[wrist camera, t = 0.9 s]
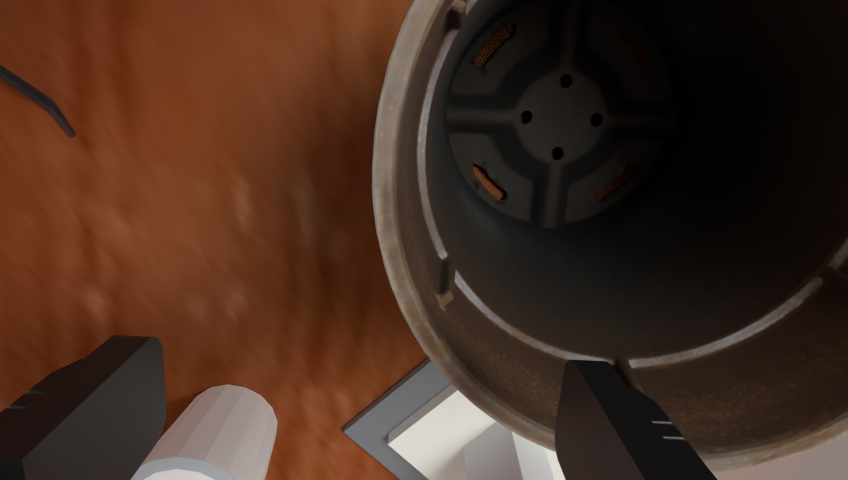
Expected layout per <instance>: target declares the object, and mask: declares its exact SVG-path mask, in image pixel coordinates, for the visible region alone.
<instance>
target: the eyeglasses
mask: <svg viewBox="0 0 848 480" xmlns="http://www.w3.org/2000/svg"><path fill="white" fill-rule="evenodd" d="M0 78H1V79H3V80H4V81H6V82H7V83H9V84H10V85H12V86H13V87H15V88H16V89H18V90H19V91H21V92H22V93H24V94H25V95H27V96H28V97H30V98H31V99H32V100H34V101H35V102H37V103H38V104H40V105H41V106H42V107H44V108H45V109H46V110H47V111H48V112H49V113H50V114H51V115H52V116H53V117H54V119H55V120H56V121H57V123H58V124H59V125H60V126H61V128H62V129H63V130H64V131H65V133H66V134H67V135H68V136H69V137H74V136H75V135H76V134H75V132H74V131H73V129H72V128H71V126H70V125H69V123H68V122H67V120H66V119H65V117H64V116H63V114H62V113H61V111H60V110H59V108H58V107H57V105H56V104H55V103H54V102H53V101H52V100H51V99H50V98H48V97H47V96H46V95H44V94H43V93H42V92H40V91H39V90H37V89H36V88H34V87H33V86H31V85H30V84H29V83H27V82H26V81H24V80H22V79H21V78H19V77H18V76H16V75H15V74H13V73H12V72H10V71H9V70H7V69H6V68H4V67H3V66H1V65H0Z"/></svg>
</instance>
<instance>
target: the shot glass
mask: <svg viewBox="0 0 848 480" xmlns="http://www.w3.org/2000/svg"><path fill="white" fill-rule="evenodd" d="M277 423H278V422H277V419H276V416H275V414H274V411H273V408H272V407H271V406H270V405H269V404H268V402H267V401H266V400H265V399H264V398H263V397H262V396H261V395H259V394H257V393H255V392H253V391H251V390H250V389H248V388H246V387H241V386H234V385H228V384H227V385H221V386H216V387H210V388H209V389H207V390H206V391H204V392H202V393H201V394H199V395H198V396H197V397H196V398H195V399H194V400H193V401H192V402H191V403H190V405H189V406H188V407H187V408H186V409H185V410H184V412H183V413H182V414H181V415H180V416H179V417H178V419H177V420H176V421H175V422H174V423H173V424H172V425H171V427H170V428H169V429H168V430H167V431H166V432H165V434H164V435H163V436H162V437H161V438H160V439H159V441H158V442H157V444H156V445H155V446H154V448H153V449H152V451H151V452H150V453H149V455H148V456H147V458H146V459H145V460H144V462H143V463H142V464H141V466H140V467H139V469H138V470H137V471H136V473H135V474H134V476H133V477H132V478H131V480H265V477H266V473H267V469H268V465H269V461H270V457H271V453H272V449H273V445H274V441H275V438H276V431H277Z"/></svg>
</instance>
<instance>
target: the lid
mask: <svg viewBox="0 0 848 480" xmlns="http://www.w3.org/2000/svg"><path fill="white" fill-rule="evenodd" d="M388 445H389V446H390V447H391V448H392V449H394V450H395V451H396V452H397V453H398V454H399V455H401V456H402V457H403V458H404V459H405V460H407V461H408V462H409V463H410V464H411V465H412V466H414V467H415V468H416V469H417V470H418V471H420V472H421V473H422V474H423V475H424V476H425V477H427V478H428V479H429V480H565V477H564V475H563V472H562V470H561V467H560V464H559V462H558V459H557V455H556V452H554V451H551V450H549V449H547V448H545V447H542V446H540V445H538V444H535V443H533V442H531V441H529V440H527V439H525V438H523V437H521V436H519V435H517V434H516V433H514V432H512V431H511V430H509V429H507V428H506V427H504V426H503V425H501V424H500V423H498V422H497V421H495V420H494V419H492V418H491V417H490V416H488V415H487V414H486V413H484V412H483V411H481V410H480V409H479V408H477V407H476V406H475V405H474V404H472V403H471V402H470V401H469V400H468V399H467V398H466V397H465V396H464V395H463V394H462V393H460V392H459V391H458V390H457V389H456V388H455V387H454V386H453V385H452V384H451V385H450V386H448V387H447V388H446V389H445V390H443V391H442V392H441V393H440V394H438V395H437V396H436V397H434V398H433V399H432V400H431V401H429V402H428V403H427V404H426V405H424V406H423V407H422V408H420V409H419V410H418V411H417V412H415V413H414V414H413V415H412V416H410V417H409V418H408V419H406V420H405V421H404V422H403V423H401V424H400V425H399V426H398V427H396V428H395V429H394V430H392V431H391V432H390V433H389V437H388Z"/></svg>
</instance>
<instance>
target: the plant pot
mask: <svg viewBox="0 0 848 480" xmlns="http://www.w3.org/2000/svg"><path fill="white" fill-rule="evenodd" d="M513 24H516V32H515V34H514V36H513V37H512V38H510V39H509V40H507V41H506V42H504V43H503V45H502V46H500V47H499V48H498V50H497V51H496V52H495V53H494V54H493V55H492V56H491V58H490V60H489V61H488V62H487V64H486V65H485V66H484V67H478V66H476V64H475V59H476V57H477V55H478V54H479V53H480V51H481V50H482V49H483V48H484V47H485V46H486V45H487V43H488V42H489V41H490V40H492V39H493V38H494V37H495V36H496V35H497V34H498V33H499V32H501V31H502V30H504V29H505V28H507V27H509V26H511V25H513ZM619 28H620V29H627V30H628V31H630V32H631V33H632V34H633V35H634V36H635V38H636V39H637V40H638V41H639V42H640V44H641V45H642V46H643V47H644V48H645V50H646V52H647V53H648V55H649V57H650V59H651V61H652V64H653V65H652V68H651V69H650V70H645V69H643V68H642V67H641V66H640V65H639V61H640V59H637V58H636V57H635V56H634V55H633V53H632V52H631V50H630V49H629V47H628V45H627V44H626V43H625V42H624V41H622V40H621V38H620V37H619V35H618V29H619ZM565 74H566V75H569V76H571V79H572V83H571V85H570V86H569V87H568V88H562V87H561V86H560V84H559V80H560V78H561V77H562V76H563V75H565ZM524 111H530V112H531V114H532V119H531V121H530V122H529V123H526V124H523V123H521V121H520V115H521V113H522V112H524ZM595 112H596V113H599V114H600V115H601V116H602V121H601V124H600V125H599V126H597V127H594V126H592V125H591V123H590V118H591V116H592V115H593V114H594V113H595ZM555 147H560V148H561V149H562V150H563V153H564V154H563V156H562V158H561V159H559V160H555V159H553V158H552V156H551V153H552V150H553V149H554V148H555ZM473 164H477V165H478V166H481V168H482V169H483V170H484V171H485V172H486V173H487V174H488V176H489V177H490V178H491V179H492V180H493V181H494V182H495V183H496V184H497V185H498V186H499V187H501V188H502V189H503V190H505V191H506V193H507V197H506V198H505V199H504V200H502V201H500V200H498V199H497V198H496V197H494V196H493V195H492V194H490V192H489V191H488V190H486V189H485V187H484V186H483V184H482V183H481V181H480V180H479V179H478V178H477V177H476V175H475V173H474V170H473V168H472V165H473ZM628 166H634V167H635V168H636V170H635V173H634V175H633V176H632V177H631V178H630V179H629V180H628V181H627V182H626V183H625V184H624V185H623V186H622V187H621V188H619V189H618V190H617V191H615V192H614V193H613V194H611V195H610V196H608V197H607V198H605V199H604V200H601V201H598V200H596V197H597V195H598V194H599V193H600V191H601V190H603V189H604V188H606V187H607V186H608V185H609V184H612V183H614V181H615V180H616V179H617V178H618V177H619V175H620V174H621V173H622V172H623V171H624V170H625V168H626V167H628ZM372 197H373V209H374V217H375V225H376V233H377V237H378V241H379V246H380V250H381V254H382V259H383V263H384V267H385V270H386V273H387V276H388V279H389V282H390V286H391V288H392V291H393V293H394V296H395V298H396V300H397V303H398V305H399V308H400V310H401V312H402V314H403V316H404V318H405V320H406V322H407V324H408V325H409V327H410V329H411V331H412V333H413V334H414V336H415V338H416V339H417V341H418V343H419V344H420V346H421V347H422V349H423V351H424V352H425V353H426V355H427V356H428V357H429V358H430V360H431V361H432V362H433V364H434V365H435V366H436V367H437V369H438V370H439V371H440V372H441V373H442V374H443V375H444V376H445V377H446V379H447V380H448V381H449V382H450V383H451V384H452V385H453V386H454V387H455V388H456V389H457V390H458V391H459V392H460V393H462V394H463V395H464V396H465V397H466V398H467V399H468V400H469V401H470V402H471V403H472V404H474V405H475V406H476V407H477V408H479V409H480V410H481V411H483V412H484V413H486V414H487V415H488V416H490V417H491V418H492V419H494V420H495V421H497V422H498V423H500V424H501V425H503V426H504V427H506V428H507V429H509V430H511V431H512V432H514V433H516V434H517V435H519V436H521V437H523V438H525V439H527V440H529V441H531V442H533V443H535V444H538V445H540V446H542V447H545V448H547V449H549V450H551V451H554V452H556V449H555V424H556V418H557V412H558V405H559V399H560V393H561V387H562V380H563V374H564V369H565V365H566V363H567V362H568V360H570V359H571V360H591V361H607V362H609V363H610V364H611V366H612V367H613V369H614V370H615V371H616V373H617V374H618V375H619V377H620V378H621V380H622V381H623V382H624V384H625V385H626V387H631V388H636V389H638V390H639V391H641V392H642V393H643V394H645V395H646V396H648V397H649V398H651V399H652V400H653V401H655V402H656V403H658V405H659V406H660V407H661V408H662V410H663V411H664V412H665V414H666V415H667V416H668V417H669V419H670V420H671V421H672V425H675V426H676V428H677V429H678V430H679V431H680V433H681V434H682V435H683V437H684V441H687V442H688V443H689V444H690V445H691V447H692V448H693V449H694V451H695V452H696V453H697V454H698V456H699V457H700V458H701V459H702V461H703V462H704V463H705V465H706V466H707V467H708V468H709V470H710V471H711V472H721V471H729V470H736V469H741V468H746V467H751V466H756V465H761V464H766V463H770V462H773V461H776V460H780V459H783V458H786V457H790V456H793V455H796V454H799V453H803V452H805V451H808V450H811V449H813V448H815V447H818V446H821V445H823V444H826V443H829V442H831V441H834V440H836V439H839V438H841V437H843V436H845V435H847V434H848V0H414V1H413V3H412V5H411V7H410V9H409V11H408V13H407V15H406V18H405V20H404V22H403V25H402V27H401V29H400V32H399V34H398V37H397V39H396V42H395V45H394V48H393V51H392V54H391V57H390V60H389V63H388V67H387V71H386V75H385V79H384V83H383V87H382V91H381V95H380V99H379V103H378V110H377V117H376V124H375V131H374V144H373V159H372Z"/></svg>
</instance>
